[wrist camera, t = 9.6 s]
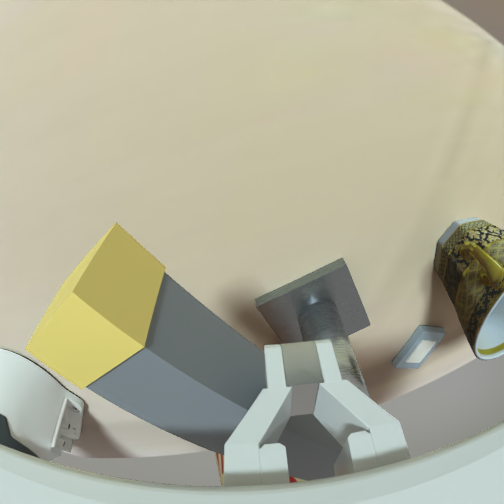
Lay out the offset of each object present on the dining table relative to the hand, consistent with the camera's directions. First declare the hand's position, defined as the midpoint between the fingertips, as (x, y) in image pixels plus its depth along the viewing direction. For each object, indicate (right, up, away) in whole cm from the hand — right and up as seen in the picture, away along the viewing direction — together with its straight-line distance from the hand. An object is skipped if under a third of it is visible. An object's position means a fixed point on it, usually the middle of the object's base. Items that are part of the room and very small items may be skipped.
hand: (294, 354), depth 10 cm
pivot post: (+4, -2, +18) cm, 19 cm away
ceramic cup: (+17, +4, +15) cm, 23 cm away
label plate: (+18, -8, +22) cm, 30 cm away
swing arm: (0, -3, +4) cm, 5 cm away
